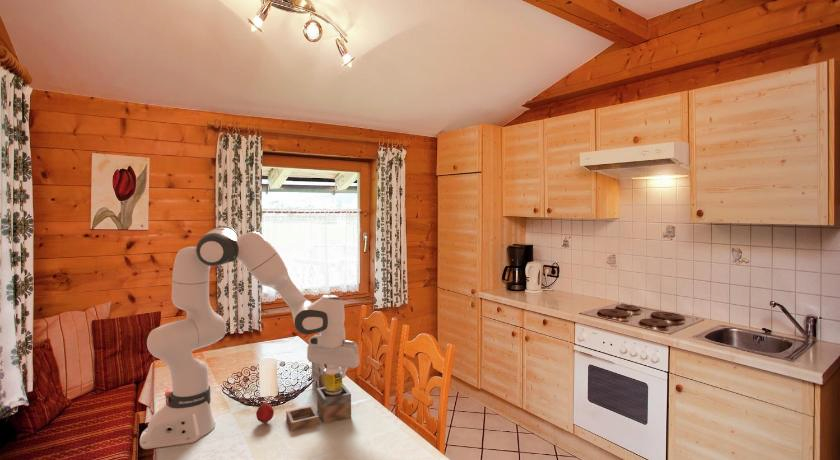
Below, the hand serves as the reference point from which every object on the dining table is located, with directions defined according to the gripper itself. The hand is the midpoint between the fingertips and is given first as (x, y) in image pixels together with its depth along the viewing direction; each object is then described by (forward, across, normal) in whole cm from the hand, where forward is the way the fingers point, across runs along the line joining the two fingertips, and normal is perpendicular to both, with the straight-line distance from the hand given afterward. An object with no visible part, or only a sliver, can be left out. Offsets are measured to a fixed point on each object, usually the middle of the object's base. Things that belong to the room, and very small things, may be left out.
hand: (333, 376), depth 162 cm
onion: (+15, +20, +14) cm, 28 cm away
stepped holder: (+15, +4, +4) cm, 16 cm away
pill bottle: (+6, 0, 0) cm, 6 cm away
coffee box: (+15, +16, -20) cm, 30 cm away
